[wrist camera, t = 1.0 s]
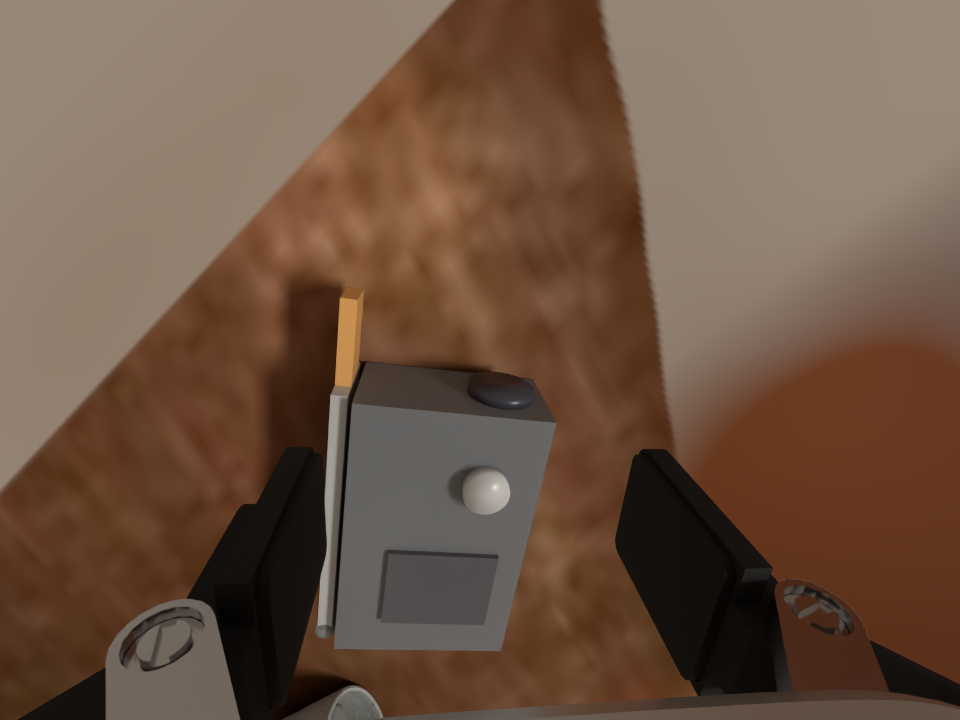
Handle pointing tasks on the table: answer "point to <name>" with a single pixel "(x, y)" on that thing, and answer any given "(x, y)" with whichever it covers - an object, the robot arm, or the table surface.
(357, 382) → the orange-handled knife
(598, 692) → the table surface
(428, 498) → the grey control box
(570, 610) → the table surface
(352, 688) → the ceramic mug
